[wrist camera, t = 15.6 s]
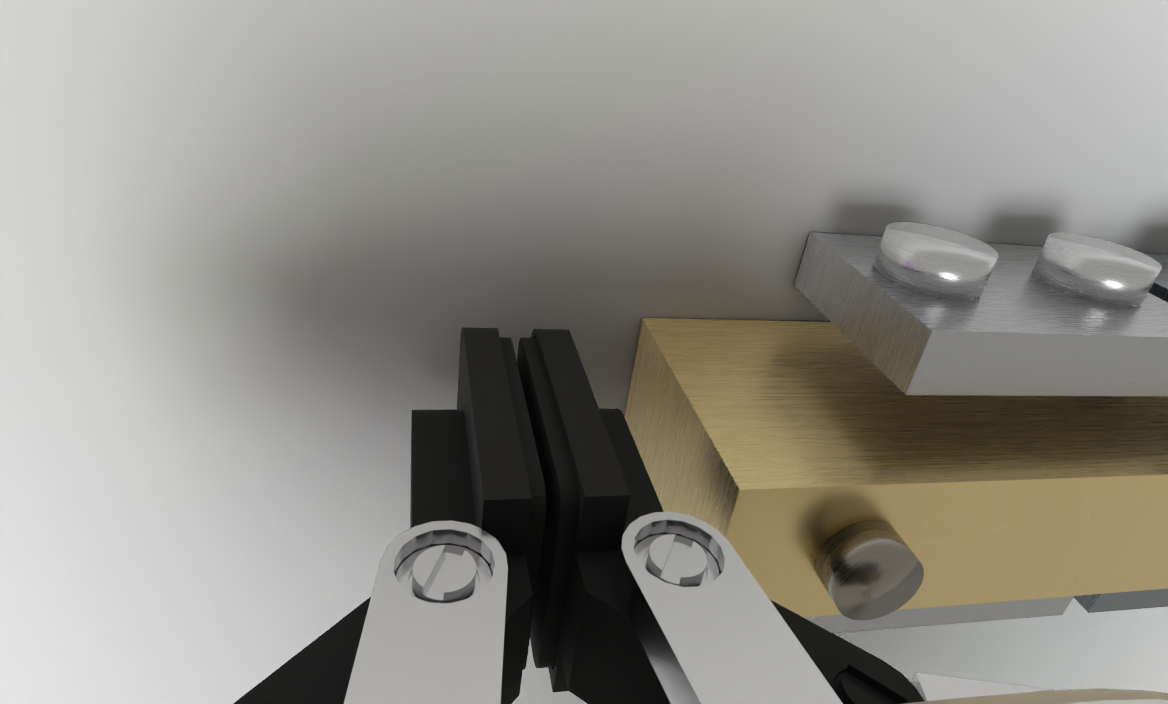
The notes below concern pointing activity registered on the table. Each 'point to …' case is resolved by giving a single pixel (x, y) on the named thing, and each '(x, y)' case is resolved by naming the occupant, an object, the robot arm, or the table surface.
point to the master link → (894, 474)
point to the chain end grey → (990, 334)
